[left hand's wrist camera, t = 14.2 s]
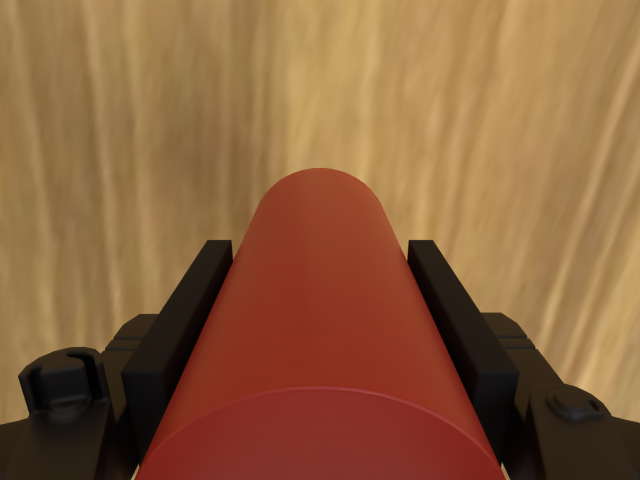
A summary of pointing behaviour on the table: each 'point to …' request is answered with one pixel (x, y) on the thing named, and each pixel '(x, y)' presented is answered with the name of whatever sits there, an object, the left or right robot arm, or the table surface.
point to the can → (320, 357)
